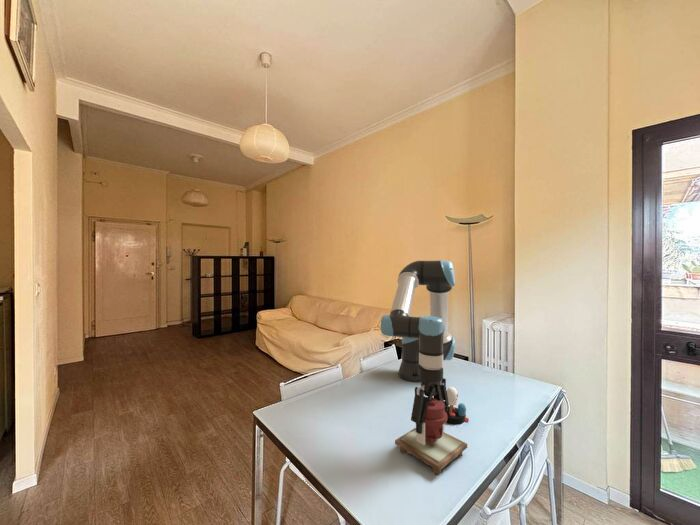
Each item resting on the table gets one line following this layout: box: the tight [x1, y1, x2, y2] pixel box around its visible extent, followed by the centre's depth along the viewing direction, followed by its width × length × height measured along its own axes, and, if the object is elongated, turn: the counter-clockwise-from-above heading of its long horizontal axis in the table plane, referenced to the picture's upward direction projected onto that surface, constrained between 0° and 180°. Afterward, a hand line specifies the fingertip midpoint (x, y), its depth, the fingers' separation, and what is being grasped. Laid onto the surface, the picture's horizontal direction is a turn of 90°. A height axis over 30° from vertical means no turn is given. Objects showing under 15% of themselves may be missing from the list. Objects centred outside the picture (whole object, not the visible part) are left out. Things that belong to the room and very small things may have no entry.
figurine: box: [445, 386, 470, 426], centre depth 112 cm, size 10×11×12 cm
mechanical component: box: [420, 396, 447, 444], centre depth 92 cm, size 12×10×10 cm
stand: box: [394, 427, 468, 475], centre depth 92 cm, size 16×16×4 cm
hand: (430, 435), depth 92 cm, fingers closed on mechanical component, 10 cm apart
